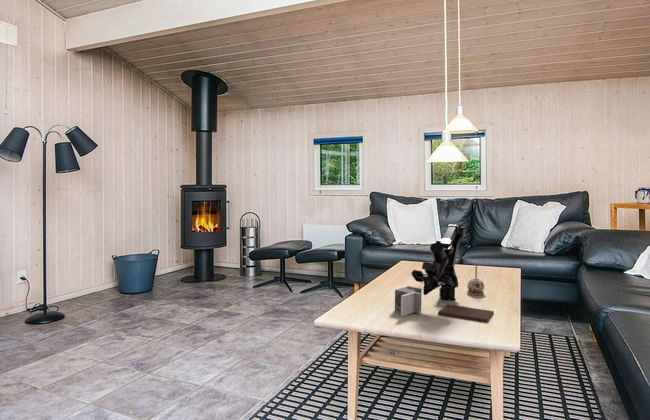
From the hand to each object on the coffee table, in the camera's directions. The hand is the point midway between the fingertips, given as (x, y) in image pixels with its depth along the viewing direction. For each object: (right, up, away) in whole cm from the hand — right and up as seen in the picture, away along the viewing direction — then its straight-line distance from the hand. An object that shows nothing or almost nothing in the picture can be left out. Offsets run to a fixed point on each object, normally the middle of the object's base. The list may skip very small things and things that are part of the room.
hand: (424, 294), depth 186 cm
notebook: (+17, -8, -4) cm, 19 cm away
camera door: (-7, -7, -6) cm, 12 cm away
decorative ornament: (+33, -6, +31) cm, 46 cm away
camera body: (-7, -7, +2) cm, 10 cm away
